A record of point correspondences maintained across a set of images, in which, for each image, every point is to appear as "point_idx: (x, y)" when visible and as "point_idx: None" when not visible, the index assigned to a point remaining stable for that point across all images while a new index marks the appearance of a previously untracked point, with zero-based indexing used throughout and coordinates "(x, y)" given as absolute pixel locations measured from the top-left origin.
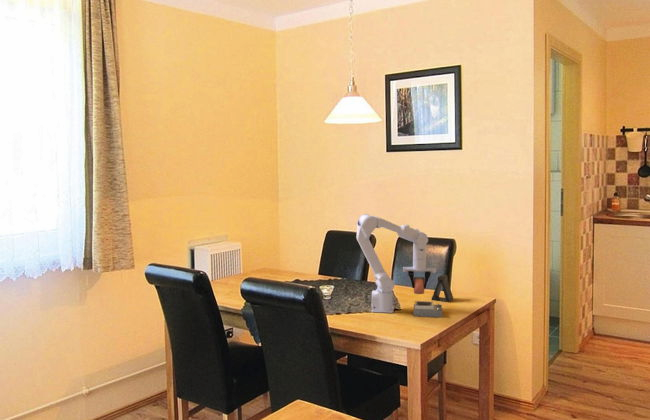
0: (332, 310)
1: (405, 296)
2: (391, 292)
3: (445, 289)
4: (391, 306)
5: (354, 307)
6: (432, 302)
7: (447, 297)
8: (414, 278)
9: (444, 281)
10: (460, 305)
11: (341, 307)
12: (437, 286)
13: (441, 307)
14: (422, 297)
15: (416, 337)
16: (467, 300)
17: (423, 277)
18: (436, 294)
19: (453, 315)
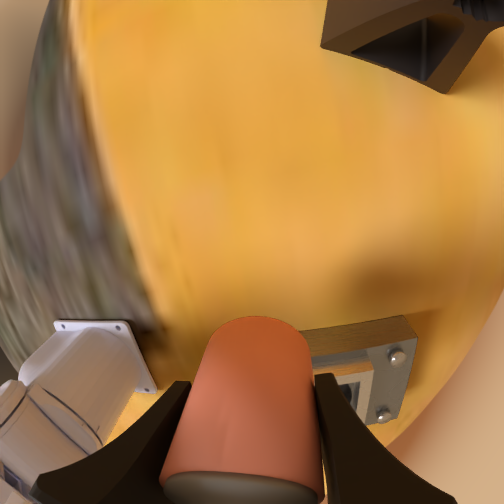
0: (11, 360)
1: (127, 32)
2: (103, 443)
3: (468, 59)
4: (134, 388)
5: (21, 326)
6: (366, 387)
7: (447, 81)
8: (180, 500)
9: (490, 7)
10: (494, 157)
11: (4, 330)
12: (408, 13)
13: (406, 381)
14: (241, 5)
15: None
16: (499, 54)
17: (309, 501)
18: (372, 39)
19: (442, 352)
